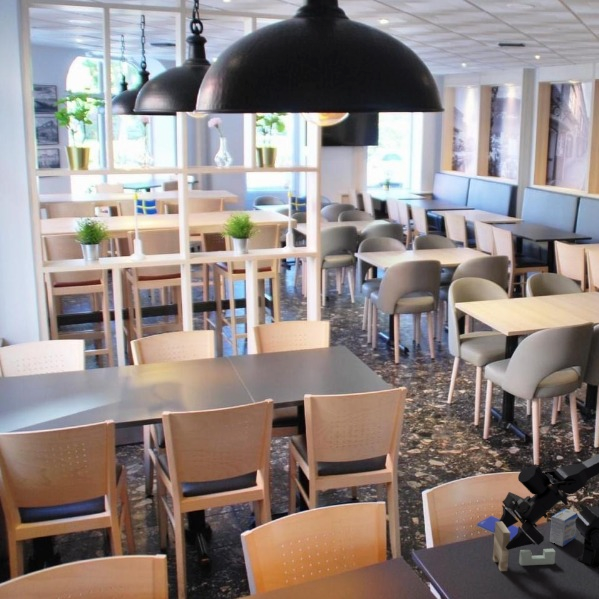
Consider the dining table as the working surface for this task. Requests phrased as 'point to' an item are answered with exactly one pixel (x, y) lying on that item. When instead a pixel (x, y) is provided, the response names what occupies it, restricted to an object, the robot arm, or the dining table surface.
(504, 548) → the birch plate
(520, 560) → the pale green u-shaped block
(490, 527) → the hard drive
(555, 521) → the medicine box
